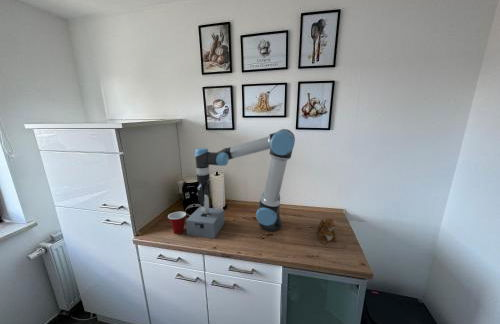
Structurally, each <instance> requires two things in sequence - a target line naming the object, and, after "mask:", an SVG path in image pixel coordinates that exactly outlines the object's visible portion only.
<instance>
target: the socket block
mask: <svg viewBox="0 0 500 324" xmlns="http://www.w3.org/2000/svg"><path fill="white" fill-rule="evenodd" d="M208 214H210V216H209V217H205V215H208ZM225 219H226V218H225V209H222V208H212V207H209V212H208V213H206V214H204V213H202V211H201V206H199V207H198V208H197V209H196V210H195V211H194V212H193V213H191V214H190V216H189V217H187V218H185V225H186V235H187V236H193V237H194V236H195V237H201V238H207V239H215V238H216V236H217V235H218V233H220V230H221V229H222V227H223V226H224V225H225V224H226V223H225ZM199 224H203V225H202V226H201V229H196V225H199Z"/></svg>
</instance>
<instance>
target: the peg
mask: <svg viewBox="0 0 500 324" xmlns="http://www.w3.org/2000/svg"><path fill="white" fill-rule="evenodd" d="M204 201H205V207H206V211H202V213H204V214H206V213H208V212H209V208H210V203H209V204H208V195H205V197H204Z"/></svg>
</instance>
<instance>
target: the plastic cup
mask: <svg viewBox="0 0 500 324" xmlns="http://www.w3.org/2000/svg"><path fill="white" fill-rule="evenodd" d="M186 216H187V213H186V211H174V212H172V213H169V214H168V215H167V219H168V220H169V221H170V225H171V228H172V231H173V233H174V235H181V234H182V233H183V232H184V230H185V229H184V228H185V223H186Z"/></svg>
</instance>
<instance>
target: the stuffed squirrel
mask: <svg viewBox="0 0 500 324" xmlns="http://www.w3.org/2000/svg"><path fill="white" fill-rule="evenodd" d="M334 228H337V225H335V223H334V217H332V218H322V219H321V220H320V222H319V224H318V225H317V228H316V232H317V234H318V239H319V240H320V242H321V244H323V245H326V244H327V242H330V241H333V242H338V238H337V236H338V233H337V231H336V230H335V229H334Z"/></svg>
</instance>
